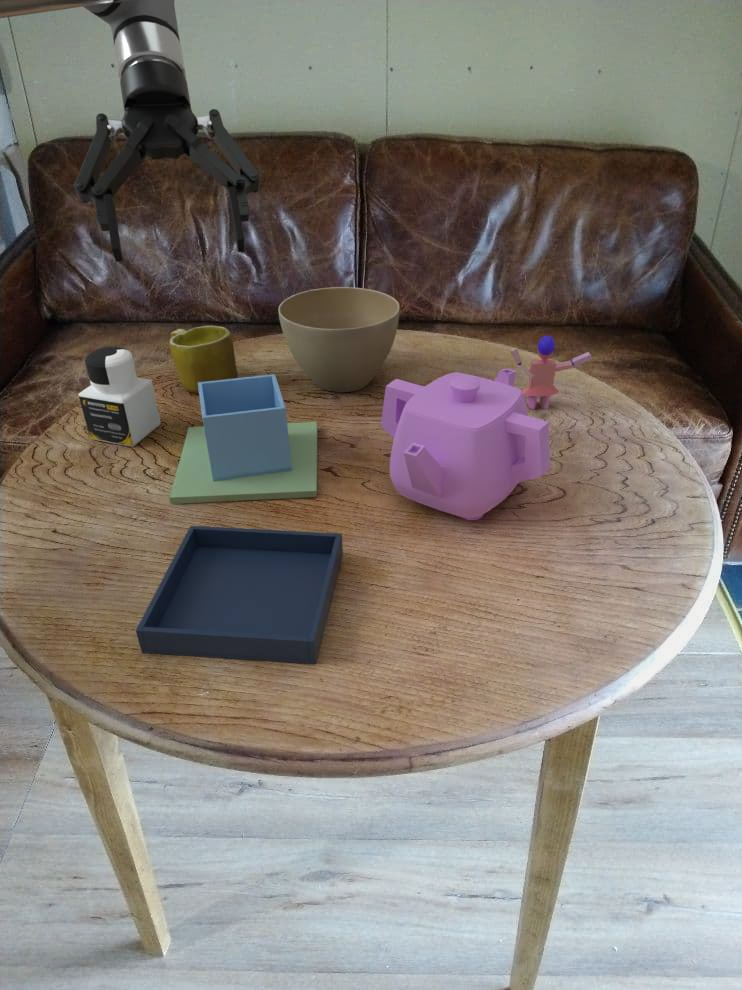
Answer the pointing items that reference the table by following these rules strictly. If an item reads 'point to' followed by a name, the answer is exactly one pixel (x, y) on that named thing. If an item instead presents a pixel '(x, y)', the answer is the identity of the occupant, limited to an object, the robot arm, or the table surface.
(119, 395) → the medicine bottle
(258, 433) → the upper bin
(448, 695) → the table surface
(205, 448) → the mat
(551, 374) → the figurine
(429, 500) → the teapot
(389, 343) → the beige bowl
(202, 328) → the mug
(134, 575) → the table surface
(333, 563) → the lower bin
